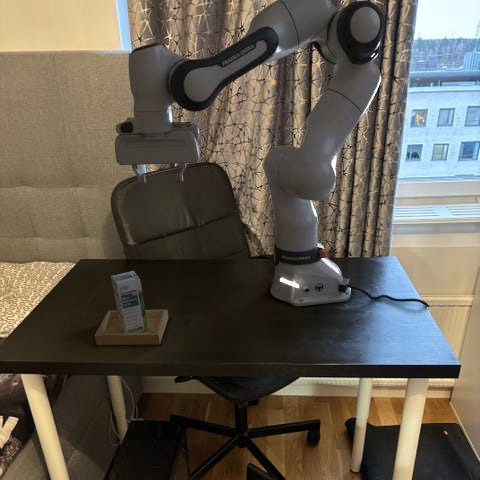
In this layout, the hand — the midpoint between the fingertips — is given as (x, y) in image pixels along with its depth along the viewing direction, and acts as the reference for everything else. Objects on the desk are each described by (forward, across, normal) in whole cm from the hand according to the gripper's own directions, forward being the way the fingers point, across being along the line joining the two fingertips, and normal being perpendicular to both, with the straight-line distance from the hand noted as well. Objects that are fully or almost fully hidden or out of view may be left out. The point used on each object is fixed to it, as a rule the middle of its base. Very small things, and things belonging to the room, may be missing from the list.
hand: (161, 182), depth 123 cm
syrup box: (+32, +8, +17) cm, 37 cm away
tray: (+33, +8, +17) cm, 38 cm away
